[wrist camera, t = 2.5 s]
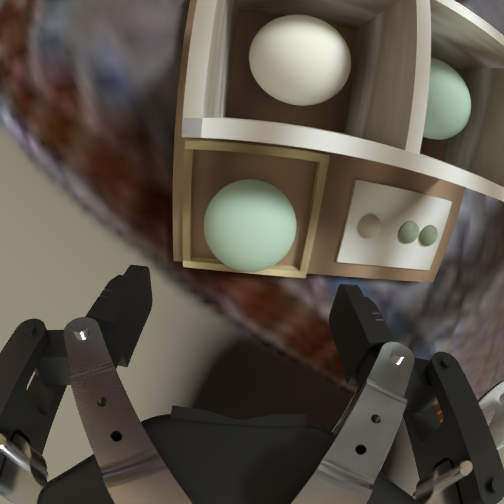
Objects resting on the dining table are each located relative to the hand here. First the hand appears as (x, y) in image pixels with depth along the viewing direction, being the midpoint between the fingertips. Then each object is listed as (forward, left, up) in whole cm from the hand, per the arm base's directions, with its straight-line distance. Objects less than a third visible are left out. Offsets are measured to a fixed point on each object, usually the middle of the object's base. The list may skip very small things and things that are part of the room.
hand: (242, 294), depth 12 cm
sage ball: (0, 0, -11) cm, 11 cm away
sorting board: (-7, -6, -12) cm, 15 cm away
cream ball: (-2, -11, -11) cm, 15 cm away
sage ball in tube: (-11, -11, -11) cm, 19 cm away
